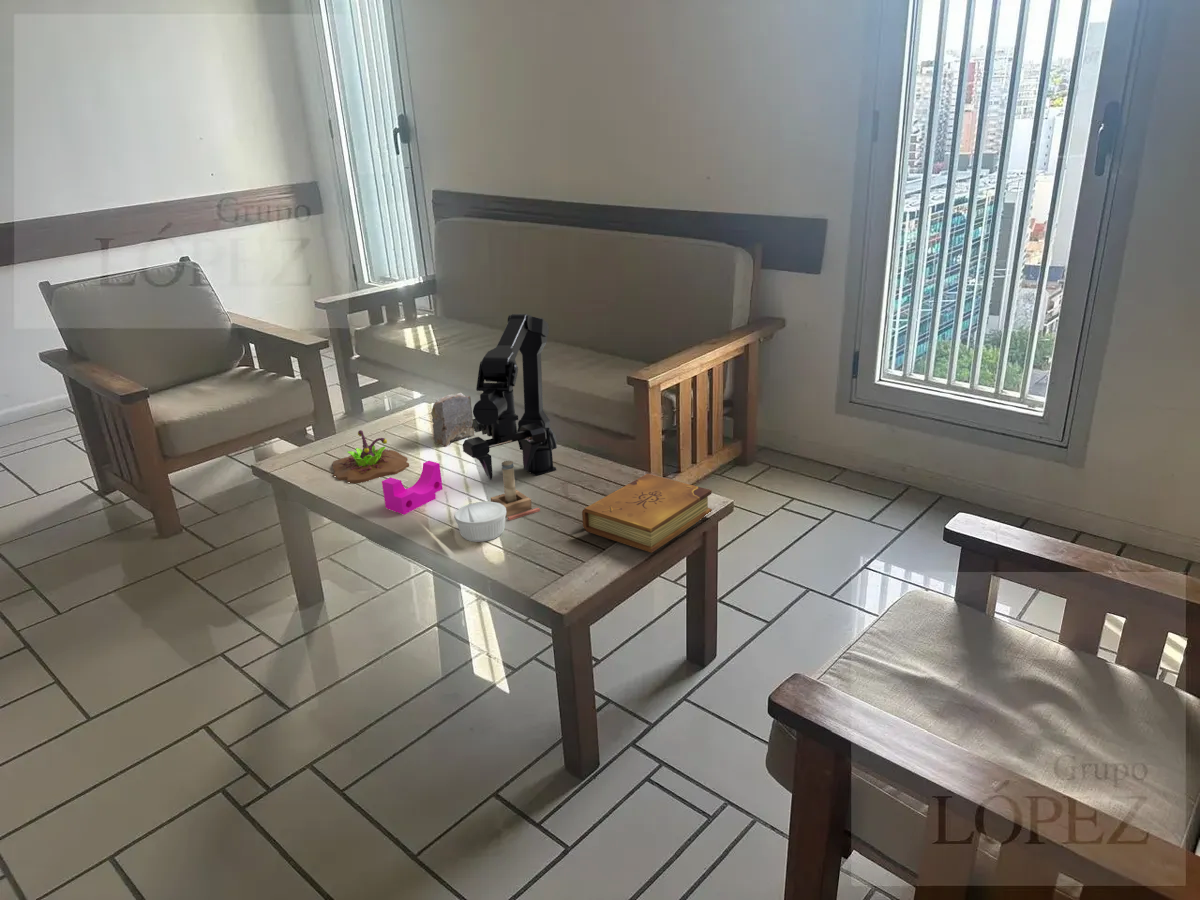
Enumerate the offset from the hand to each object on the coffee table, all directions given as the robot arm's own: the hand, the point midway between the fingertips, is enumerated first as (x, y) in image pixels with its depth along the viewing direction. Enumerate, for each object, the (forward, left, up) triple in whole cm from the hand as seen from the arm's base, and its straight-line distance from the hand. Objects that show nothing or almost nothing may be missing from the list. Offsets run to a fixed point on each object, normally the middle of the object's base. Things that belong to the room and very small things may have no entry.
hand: (508, 474), depth 195 cm
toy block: (+16, -18, -9) cm, 26 cm away
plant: (+19, -46, -9) cm, 51 cm away
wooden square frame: (0, 0, -8) cm, 8 cm away
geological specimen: (-8, -49, -9) cm, 51 cm away
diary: (-21, +25, -9) cm, 34 cm away
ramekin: (+11, +7, -9) cm, 16 cm away
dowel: (0, 0, -8) cm, 9 cm away
